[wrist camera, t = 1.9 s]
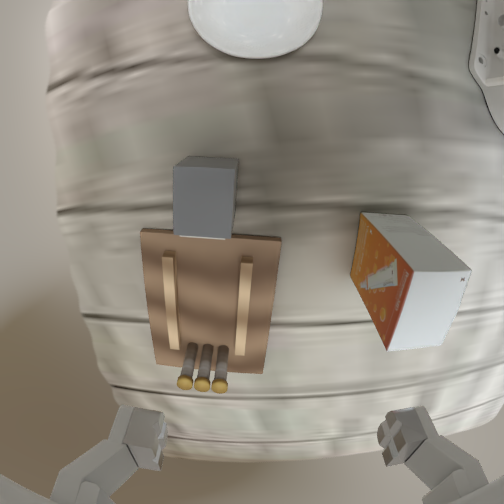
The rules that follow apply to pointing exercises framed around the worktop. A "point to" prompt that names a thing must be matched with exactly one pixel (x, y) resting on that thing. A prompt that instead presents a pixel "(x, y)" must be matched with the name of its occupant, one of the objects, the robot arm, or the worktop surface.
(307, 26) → the spoon rest
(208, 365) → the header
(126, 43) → the worktop surface
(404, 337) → the small box
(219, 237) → the grey block
